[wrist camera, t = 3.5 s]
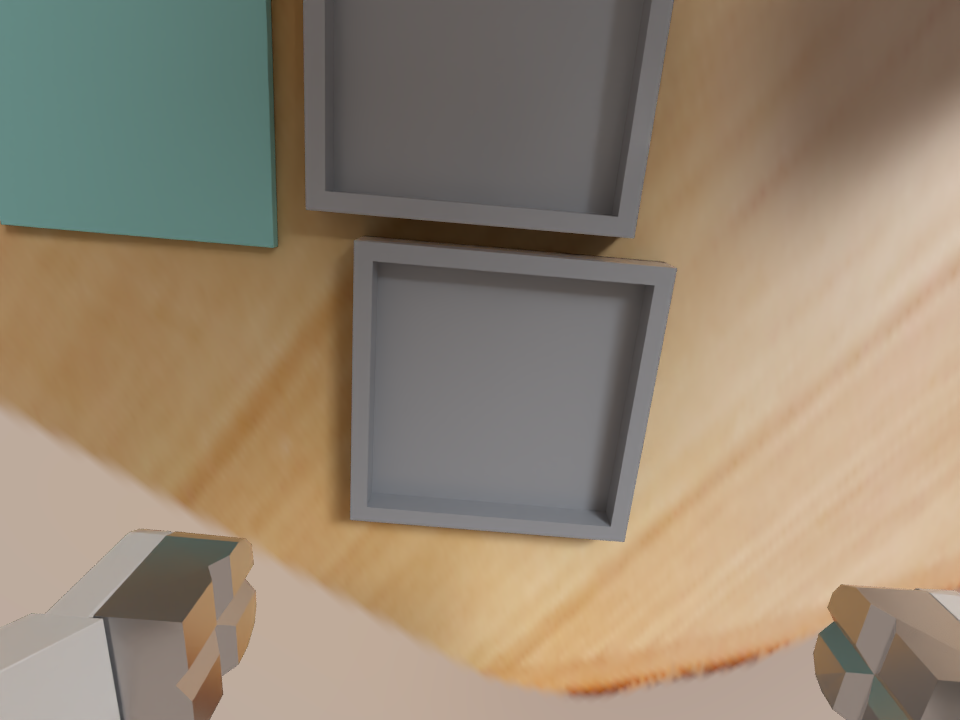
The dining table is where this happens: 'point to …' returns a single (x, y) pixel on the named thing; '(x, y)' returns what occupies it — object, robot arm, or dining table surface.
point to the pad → (139, 118)
